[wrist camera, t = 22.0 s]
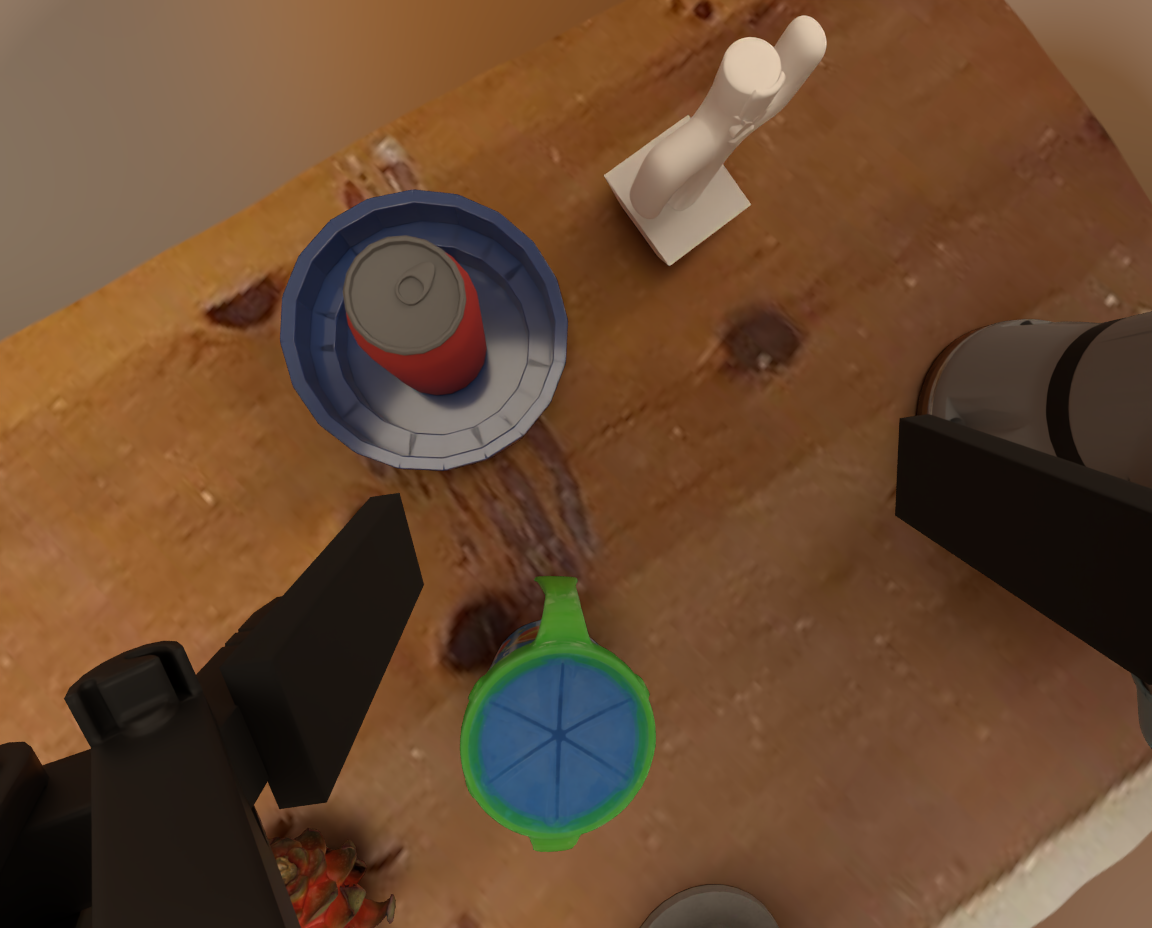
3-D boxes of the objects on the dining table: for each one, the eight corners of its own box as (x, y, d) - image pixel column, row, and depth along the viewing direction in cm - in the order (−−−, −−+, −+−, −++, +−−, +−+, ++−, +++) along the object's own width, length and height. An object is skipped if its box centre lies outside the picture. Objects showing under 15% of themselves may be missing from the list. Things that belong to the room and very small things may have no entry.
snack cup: (602, 783, 39) (635, 895, 29) (456, 772, 38) (437, 886, 28) (633, 570, 39) (677, 608, 29) (489, 551, 38) (482, 585, 28)
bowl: (605, 336, 39) (620, 316, 33) (458, 516, 38) (450, 526, 32) (421, 180, 37) (406, 132, 32) (261, 363, 36) (217, 346, 30)
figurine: (582, 210, 39) (629, 53, 24) (683, 138, 39) (789, -58, 25) (642, 293, 39) (725, 189, 24) (740, 219, 40) (877, 76, 25)
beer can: (506, 340, 37) (505, 284, 25) (447, 415, 37) (419, 394, 25) (428, 280, 37) (390, 193, 25) (368, 356, 36) (299, 304, 24)
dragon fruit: (290, 779, 38) (388, 892, 40) (161, 905, 32) (284, 1027, 35) (330, 810, 32) (442, 942, 34) (178, 973, 26) (327, 1115, 29)
